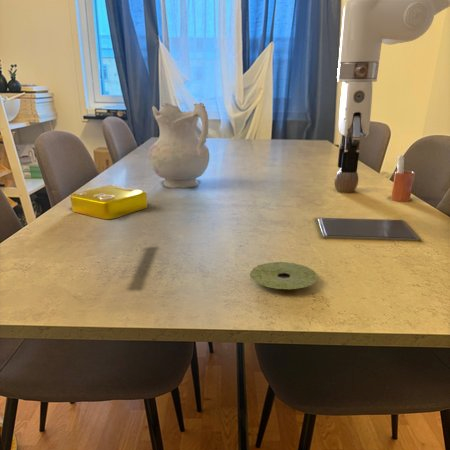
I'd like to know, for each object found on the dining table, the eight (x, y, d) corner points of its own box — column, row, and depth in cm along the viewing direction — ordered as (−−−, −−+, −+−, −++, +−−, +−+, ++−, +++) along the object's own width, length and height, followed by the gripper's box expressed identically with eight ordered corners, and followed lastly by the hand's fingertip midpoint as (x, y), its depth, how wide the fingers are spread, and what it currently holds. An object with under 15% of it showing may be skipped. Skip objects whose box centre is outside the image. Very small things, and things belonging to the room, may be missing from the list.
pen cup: (406, 199, 124) (411, 170, 121) (411, 203, 120) (417, 174, 116) (388, 198, 125) (393, 170, 121) (392, 203, 120) (398, 174, 117)
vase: (357, 195, 128) (362, 165, 124) (334, 194, 129) (337, 164, 125) (355, 190, 134) (359, 161, 130) (332, 189, 135) (335, 160, 131)
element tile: (150, 207, 117) (149, 189, 115) (108, 220, 106) (106, 201, 104) (112, 199, 125) (110, 182, 122) (69, 211, 114) (66, 193, 111)
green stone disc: (246, 297, 69) (246, 286, 68) (253, 269, 79) (253, 259, 78) (317, 302, 67) (318, 290, 67) (315, 273, 77) (316, 263, 76)
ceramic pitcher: (225, 185, 145) (227, 104, 135) (198, 193, 129) (198, 102, 119) (170, 180, 153) (168, 103, 143) (137, 187, 137) (133, 101, 127)
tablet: (401, 224, 103) (402, 219, 103) (419, 244, 91) (420, 239, 90) (317, 221, 105) (317, 217, 105) (323, 240, 93) (323, 236, 92)
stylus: (402, 198, 123) (403, 154, 117) (403, 199, 121) (404, 155, 116) (396, 198, 123) (397, 155, 118) (397, 200, 121) (398, 156, 116)
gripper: (387, 73, 76) (372, 178, 84) (368, 73, 91) (357, 162, 99) (344, 73, 77) (333, 178, 85) (332, 74, 92) (324, 162, 100)
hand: (346, 168), depth 92 cm, fingers open, 4 cm apart
